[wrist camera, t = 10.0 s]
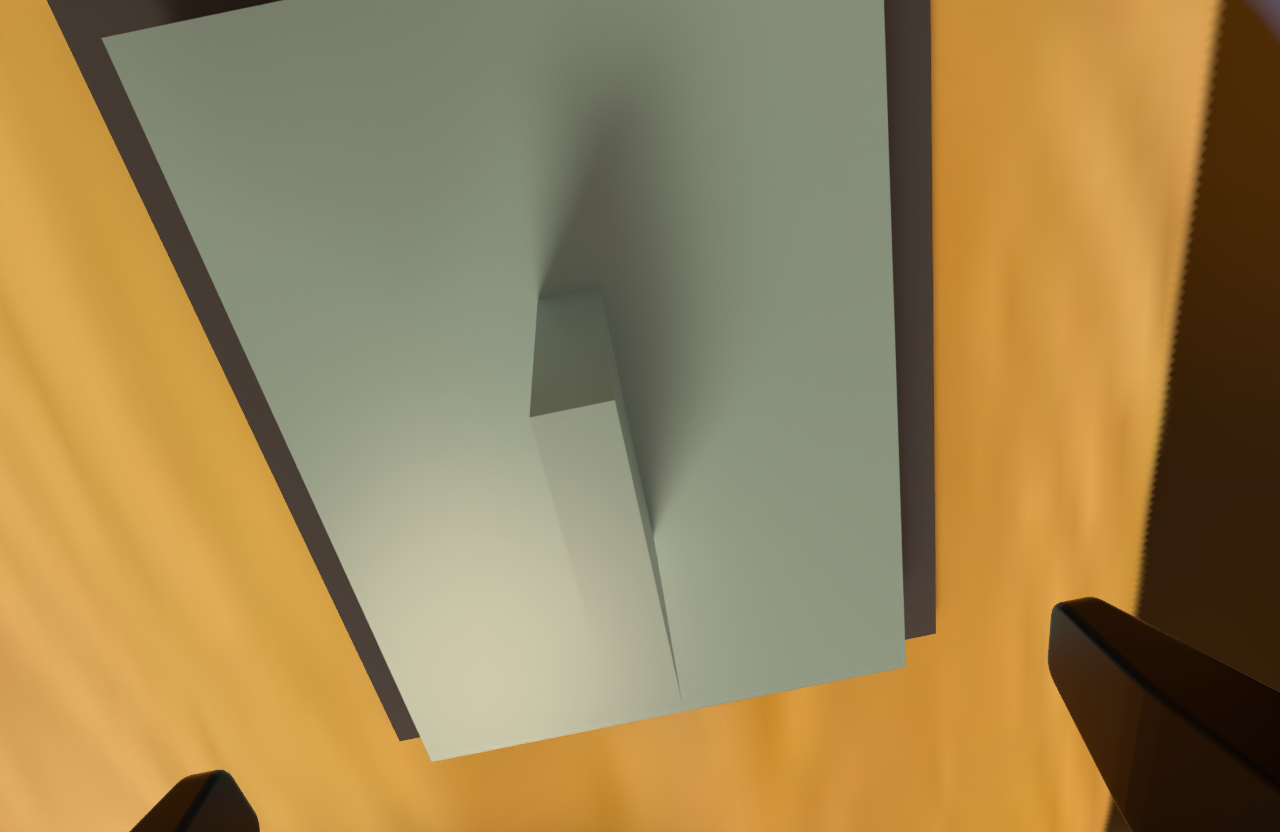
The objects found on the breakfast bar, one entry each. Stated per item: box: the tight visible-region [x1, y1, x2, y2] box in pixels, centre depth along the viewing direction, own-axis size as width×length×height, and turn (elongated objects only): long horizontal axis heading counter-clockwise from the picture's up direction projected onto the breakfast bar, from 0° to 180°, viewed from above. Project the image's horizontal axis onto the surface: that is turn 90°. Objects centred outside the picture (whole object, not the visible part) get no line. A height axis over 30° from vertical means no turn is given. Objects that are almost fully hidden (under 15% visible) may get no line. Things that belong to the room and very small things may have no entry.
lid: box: [102, 0, 906, 762], centre depth 13 cm, size 14×10×6 cm
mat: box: [47, 0, 936, 741], centre depth 16 cm, size 16×13×1 cm
